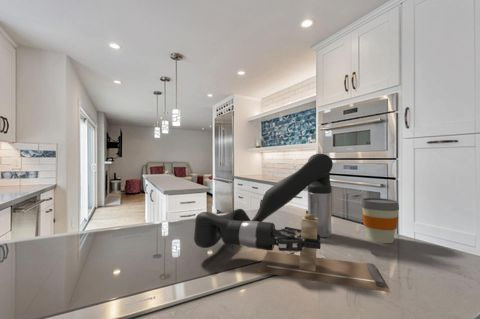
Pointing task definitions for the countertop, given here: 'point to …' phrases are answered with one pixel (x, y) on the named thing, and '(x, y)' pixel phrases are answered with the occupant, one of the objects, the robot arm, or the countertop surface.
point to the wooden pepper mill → (308, 232)
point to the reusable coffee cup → (380, 219)
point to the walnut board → (325, 271)
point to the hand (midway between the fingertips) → (319, 241)
